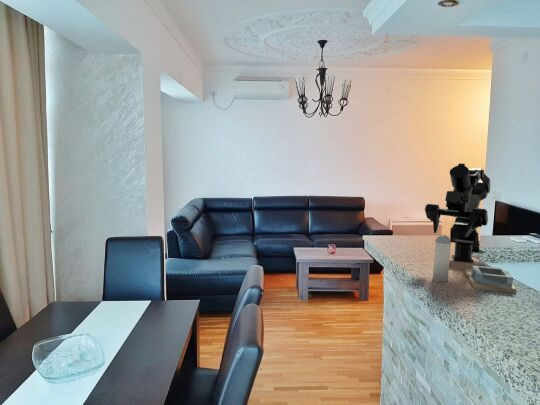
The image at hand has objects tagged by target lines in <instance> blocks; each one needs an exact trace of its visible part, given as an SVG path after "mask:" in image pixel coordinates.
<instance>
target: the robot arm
mask: <svg viewBox="0 0 540 405" xmlns="http://www.w3.org/2000/svg"><path fill="white" fill-rule="evenodd" d="M449 177H450V183H451V186H452V188H453V190H447V191H446V194H445V199H444V201H445V202H446V203H445V208H440V205H439V204H435V203H427V204H426V205H425V208H424V212H425V215H426V218H427V219H428V220H430V222H432V224H433V234H437V232H438V228H439V224H440V219H441V216H447V217H448V216H449V217H453V218H455V219H454V222H453V224H452V226H451V227H450V232H449V233H450V234H449V238H450V240H451V244H452V243H454V244H455V245H454V254H452V255H451V257H452V259H453V261H458V262H468V263H469V262H470V263H473V262H474V259H473V257H472V254H473V252H472V245H473V246H475V245H478V244H479V243H480V242H479V241H480V238H479V232H478V230H477V228H481V227H482V226H487V225H488V222H489V216H488V210H487V209H486V208H479V207H480V203H481V201H483V200H485V199H487V197H488V194H489V193H491V192H490V191H491V179H490V178H489V177H488V176H487V174H486V173H485V169H483V168H468V167H467V166H466V163H458V164H457V165H455V166H453V167H451V169H450V170H449Z"/></svg>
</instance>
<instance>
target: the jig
mask: <svg viewBox="0 0 540 405" xmlns="http://www.w3.org/2000/svg"><path fill="white" fill-rule="evenodd" d="M464 273H465V275H466V277H467V279H468V281H469V283H470V285H471V287H472V288H473V289H475V290H483V291H493V292H503V293H513V294H516V293H517V287H516V286H515V285H514V284H513V282H514V277H513V276H512V274H511V273H510V272H509V271H508V270H507V269H506V268H504V267H491V266H482V265H471V269H469V268H465V271H464Z"/></svg>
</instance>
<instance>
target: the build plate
mask: <svg viewBox="0 0 540 405" xmlns="http://www.w3.org/2000/svg"><path fill="white" fill-rule="evenodd" d="M472 253H482V254H483V253H486V251H484V250H481V248H480V240H479V244H478V245H475V246H473V245H472Z"/></svg>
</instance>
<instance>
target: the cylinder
mask: <svg viewBox="0 0 540 405" xmlns="http://www.w3.org/2000/svg"><path fill="white" fill-rule="evenodd" d="M451 244H452V243H451V240H450V236H448V235H446V234H440V235H438V236H437V237H436V238H435V241H434V253H433V254H434V255H433V268H432V270H433V271H432V272H433V273H432V280H433V281H437V282H440V281H442V282H441V283H446V282H445V281H447V282H448V281H449V274H450V273H449V270H450V262H451V261H450V260H451Z"/></svg>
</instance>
